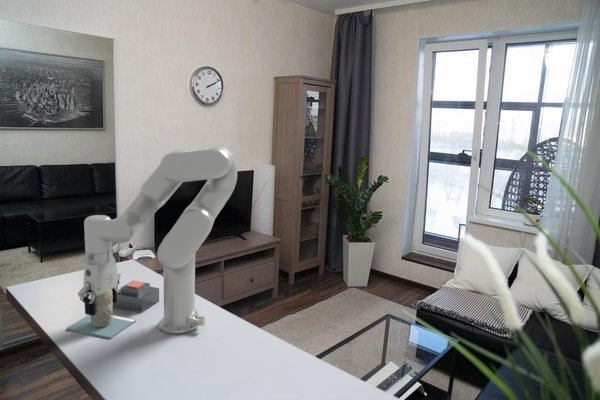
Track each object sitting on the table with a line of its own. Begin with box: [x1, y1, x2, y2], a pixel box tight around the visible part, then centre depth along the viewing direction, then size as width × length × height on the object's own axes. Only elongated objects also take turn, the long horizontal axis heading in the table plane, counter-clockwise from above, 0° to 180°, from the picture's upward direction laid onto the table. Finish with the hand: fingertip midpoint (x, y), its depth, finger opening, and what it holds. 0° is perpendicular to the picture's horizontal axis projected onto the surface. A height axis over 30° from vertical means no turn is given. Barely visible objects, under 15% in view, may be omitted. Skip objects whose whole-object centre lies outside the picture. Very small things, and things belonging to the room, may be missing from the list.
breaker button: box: [125, 280, 146, 289], centre depth 151 cm, size 5×5×2 cm
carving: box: [89, 289, 114, 327], centre depth 134 cm, size 6×8×12 cm
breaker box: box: [113, 280, 160, 314], centre depth 151 cm, size 12×10×7 cm
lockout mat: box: [66, 314, 137, 340], centre depth 136 cm, size 16×12×1 cm
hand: (101, 308), depth 135 cm, fingers open, 9 cm apart
